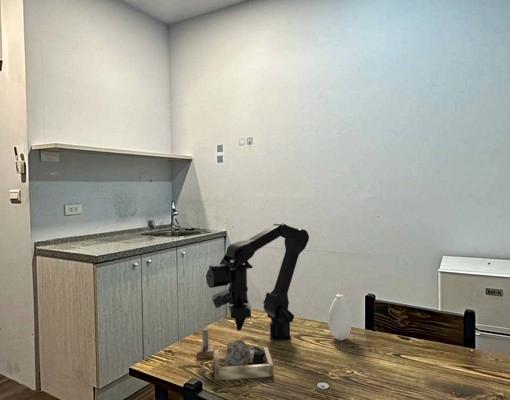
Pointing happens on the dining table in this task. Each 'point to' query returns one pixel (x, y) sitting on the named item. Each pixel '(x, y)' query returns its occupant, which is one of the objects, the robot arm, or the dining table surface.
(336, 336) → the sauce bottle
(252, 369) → the cradle
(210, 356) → the stand rod
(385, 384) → the dining table surface
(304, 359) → the dining table surface
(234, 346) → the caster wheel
